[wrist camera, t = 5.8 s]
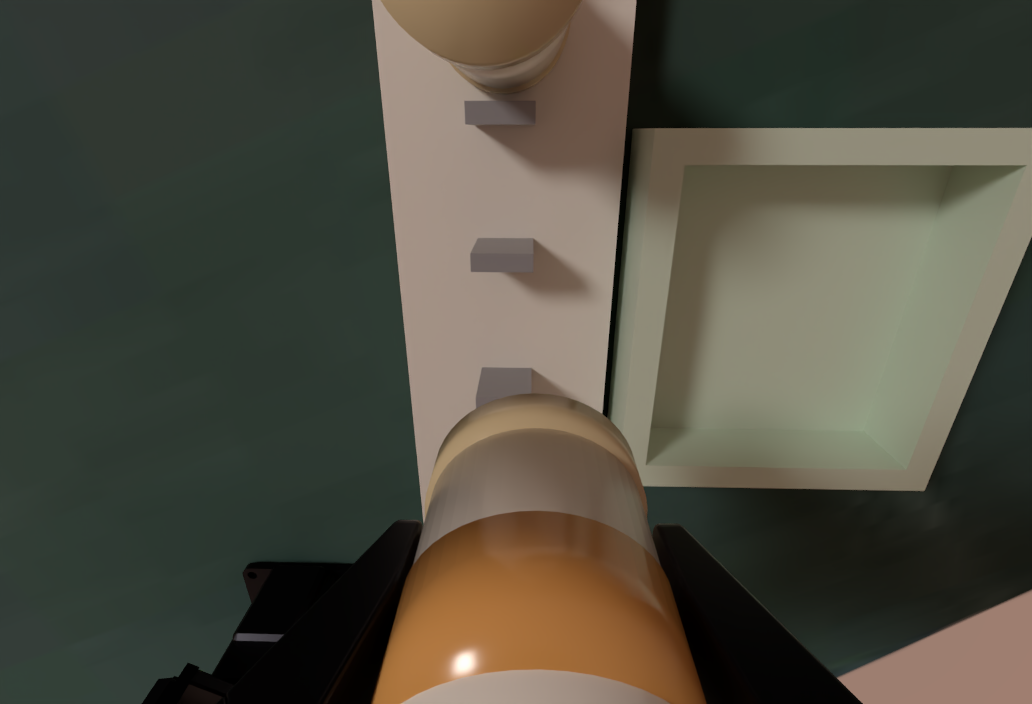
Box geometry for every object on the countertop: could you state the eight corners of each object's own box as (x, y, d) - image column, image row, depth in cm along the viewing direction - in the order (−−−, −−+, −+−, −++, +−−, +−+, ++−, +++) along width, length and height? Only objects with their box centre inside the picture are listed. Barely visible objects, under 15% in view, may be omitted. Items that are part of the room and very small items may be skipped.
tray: (868, 440, 23) (924, 491, 19) (605, 436, 23) (617, 485, 20) (976, 128, 17) (1077, 128, 14) (632, 128, 18) (655, 128, 14)
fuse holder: (586, 538, 26) (596, 606, 22) (432, 535, 26) (416, 602, 22) (635, -98, 15) (669, -171, 11) (375, -96, 15) (327, -166, 12)
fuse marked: (627, 557, 11) (844, 1507, 3) (442, 555, 11) (251, 1465, 3) (645, 393, 9) (1154, 1553, 2) (426, 392, 9) (-7, 1474, 2)
